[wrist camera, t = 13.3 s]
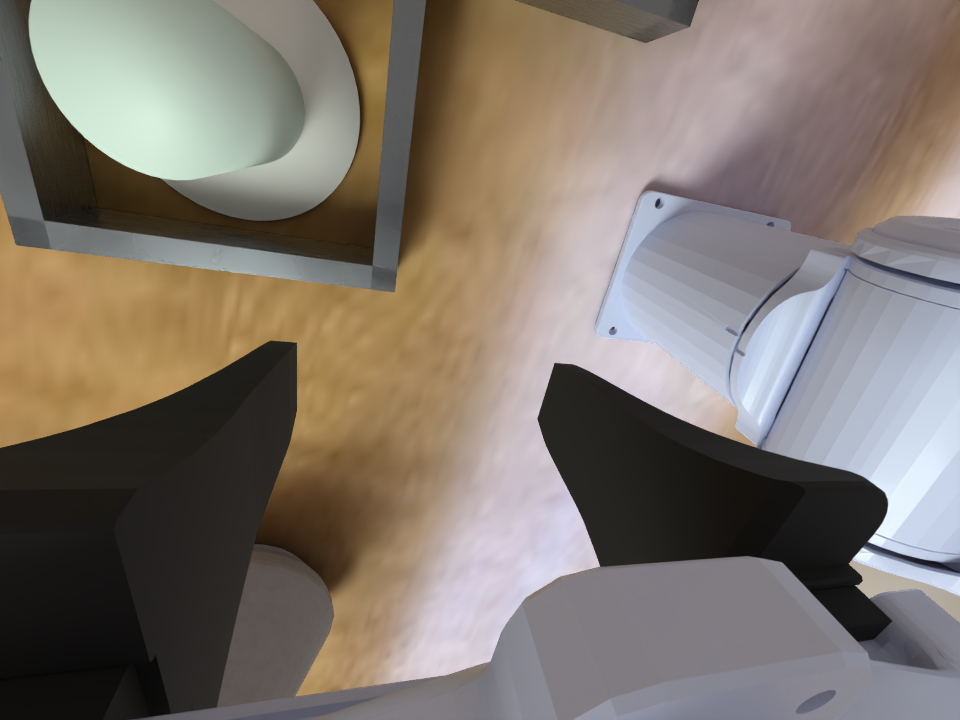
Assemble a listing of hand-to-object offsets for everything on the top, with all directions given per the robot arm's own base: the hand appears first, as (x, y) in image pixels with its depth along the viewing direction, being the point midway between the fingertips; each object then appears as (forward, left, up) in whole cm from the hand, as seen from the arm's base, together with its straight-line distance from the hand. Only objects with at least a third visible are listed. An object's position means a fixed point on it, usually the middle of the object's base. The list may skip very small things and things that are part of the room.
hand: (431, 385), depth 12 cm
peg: (+7, -6, -10) cm, 14 cm away
